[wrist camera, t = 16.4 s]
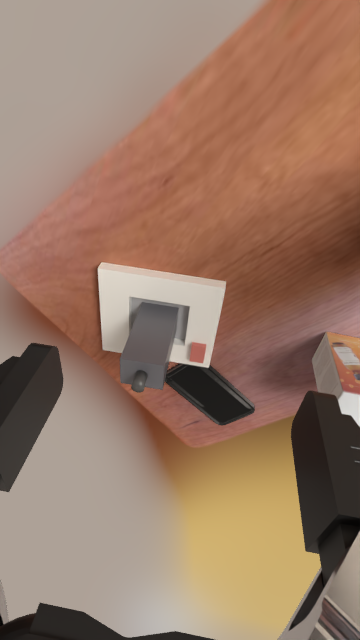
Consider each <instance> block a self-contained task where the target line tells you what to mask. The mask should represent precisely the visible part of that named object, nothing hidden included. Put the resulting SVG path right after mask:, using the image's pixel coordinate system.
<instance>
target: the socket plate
mask: <svg viewBox="0 0 360 640" xmlns="http://www.w3.org/2000/svg"><path fill="white" fill-rule="evenodd" d="M98 282H99V298H100V314H101V330H102V346H103V350H106V351H112V352H118V353H122V352H123V349H124V347H125V344H126V342H127V339H128V337H129V334H130V332H131V329H132V327H133V324H134V322H135V319H136V317H137V314H138V312H139V309H140V307H141V304H142V302H146V303H152V304H159V305H165V306H172V307H178V308H179V311H178V320H177V330H176V334H175V338H174V343H173V347H172V351H171V355H170V360H169V361H171V362H177V363H183V364H189V365H195V366H200V367H206V368H209V365H210V360H211V356H212V351H213V346H214V341H215V337H216V332H217V327H218V322H219V318H220V313H221V308H222V303H223V299H224V294H225V289H226V281H220V280H213V279H207V278H201V277H194V276H188V275H181V274H175V273H168V272H162V271H156V270H149V269H143V268H136V267H130V266H123V265H117V264H111V263H104V262H101V264H100V265H99V267H98Z"/></svg>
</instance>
